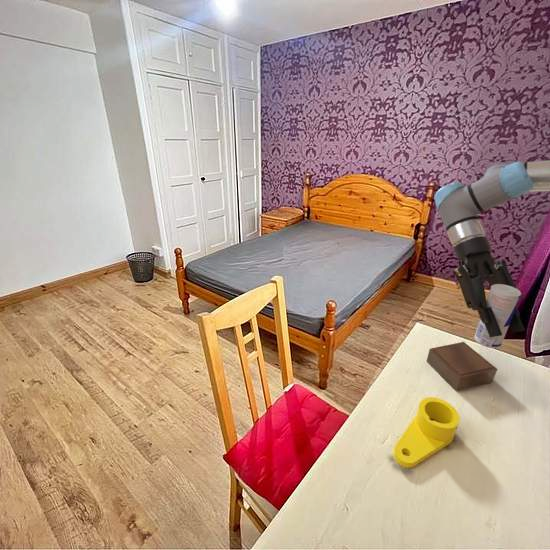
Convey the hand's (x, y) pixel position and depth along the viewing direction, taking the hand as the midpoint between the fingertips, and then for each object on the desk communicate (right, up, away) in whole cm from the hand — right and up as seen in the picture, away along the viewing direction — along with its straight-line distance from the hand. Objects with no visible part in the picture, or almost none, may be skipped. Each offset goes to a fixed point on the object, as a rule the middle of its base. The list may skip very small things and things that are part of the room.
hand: (507, 333), depth 70 cm
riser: (+1, -15, +20) cm, 25 cm away
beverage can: (-1, -3, +6) cm, 7 cm away
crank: (-19, -25, +1) cm, 32 cm away
